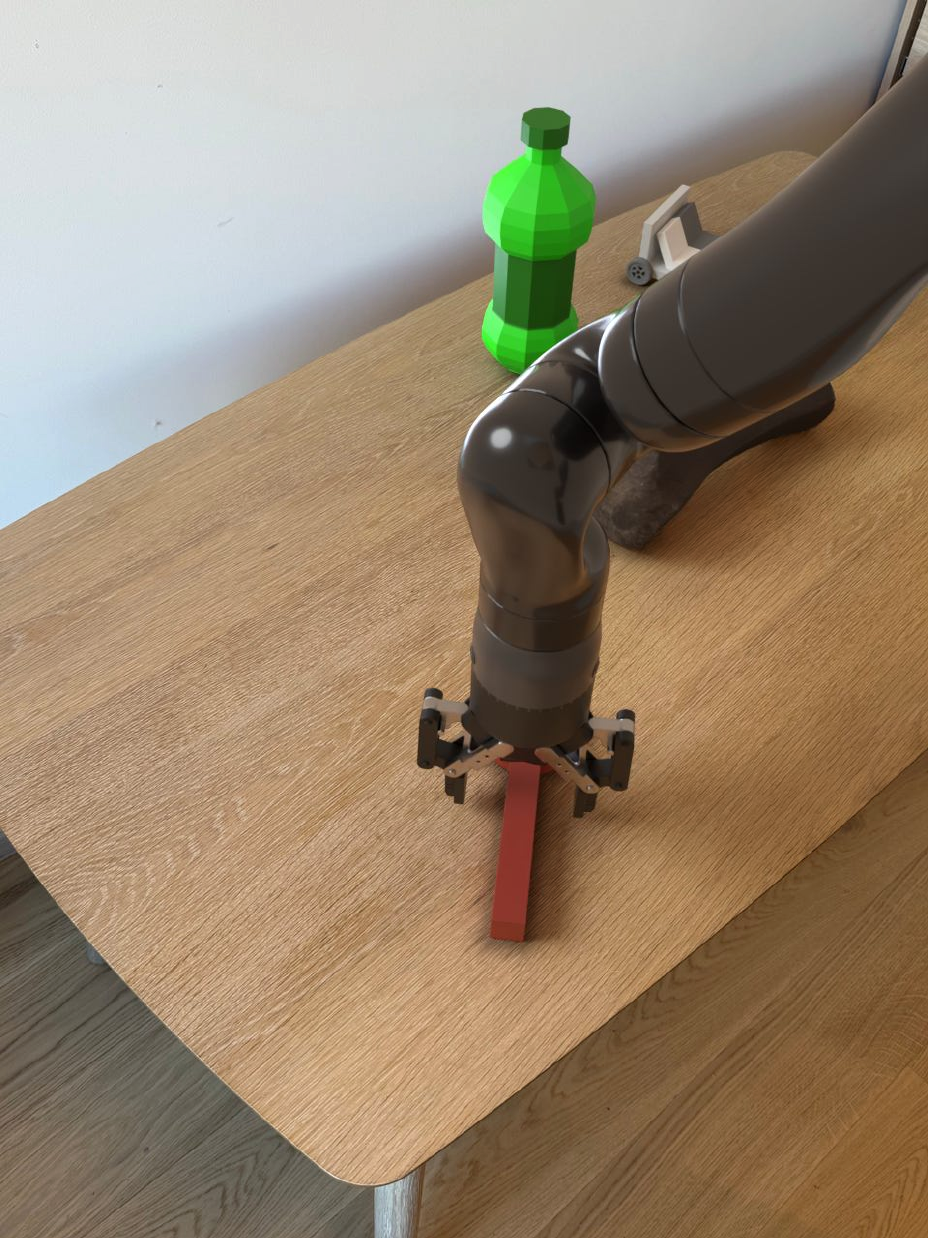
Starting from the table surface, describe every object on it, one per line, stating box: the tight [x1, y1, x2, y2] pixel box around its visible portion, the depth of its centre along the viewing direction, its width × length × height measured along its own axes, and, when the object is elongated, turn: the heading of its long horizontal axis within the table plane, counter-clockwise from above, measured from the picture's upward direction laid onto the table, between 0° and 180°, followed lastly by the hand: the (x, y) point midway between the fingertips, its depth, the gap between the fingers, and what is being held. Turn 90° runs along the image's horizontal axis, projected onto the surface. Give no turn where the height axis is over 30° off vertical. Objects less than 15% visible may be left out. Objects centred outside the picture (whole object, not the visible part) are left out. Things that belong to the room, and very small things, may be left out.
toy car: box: [625, 183, 721, 286], centre depth 120 cm, size 18×10×12 cm
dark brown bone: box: [593, 382, 837, 551], centre depth 100 cm, size 11×10×28 cm
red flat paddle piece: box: [489, 758, 554, 943], centre depth 77 cm, size 19×6×3 cm, turn 173°
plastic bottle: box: [481, 106, 597, 376], centre depth 104 cm, size 10×10×25 cm
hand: (518, 800), depth 78 cm, fingers open, 8 cm apart
